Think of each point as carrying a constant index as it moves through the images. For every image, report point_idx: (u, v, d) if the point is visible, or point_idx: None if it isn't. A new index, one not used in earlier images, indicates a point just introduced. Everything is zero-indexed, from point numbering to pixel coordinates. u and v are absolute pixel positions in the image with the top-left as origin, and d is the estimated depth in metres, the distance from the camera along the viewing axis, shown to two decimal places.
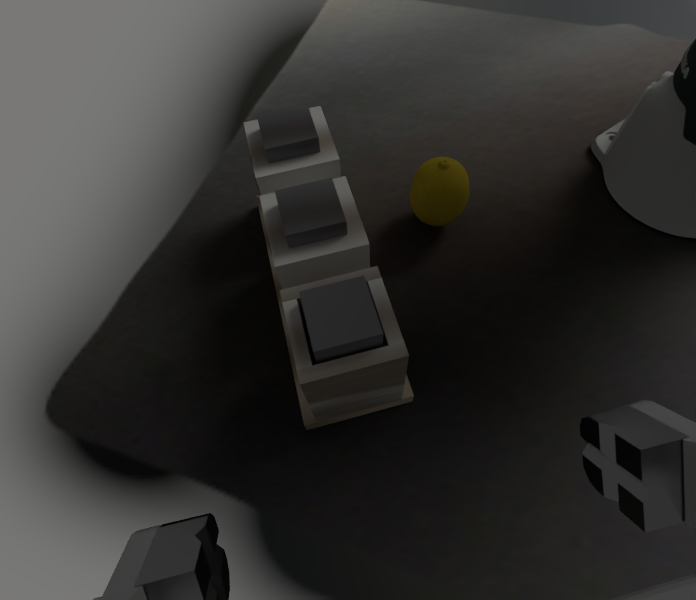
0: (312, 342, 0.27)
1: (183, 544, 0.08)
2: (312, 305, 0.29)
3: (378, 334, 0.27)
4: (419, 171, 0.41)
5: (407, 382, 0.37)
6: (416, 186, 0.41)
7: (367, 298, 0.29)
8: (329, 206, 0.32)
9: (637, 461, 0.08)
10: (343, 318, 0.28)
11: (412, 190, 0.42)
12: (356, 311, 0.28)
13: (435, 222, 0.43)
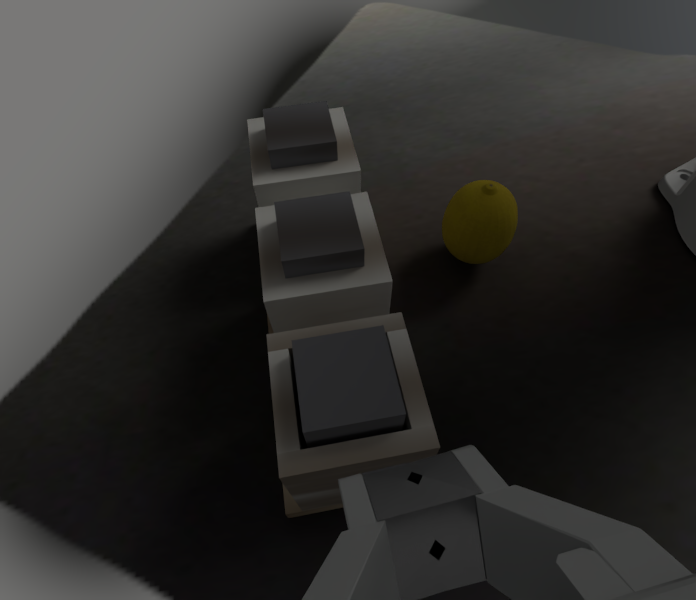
0: (302, 417, 0.19)
1: (400, 487, 0.08)
2: (308, 362, 0.20)
3: (399, 414, 0.19)
4: (457, 195, 0.33)
5: None
6: (453, 213, 0.33)
7: (386, 358, 0.20)
8: (343, 228, 0.24)
9: None
10: (350, 385, 0.20)
11: (446, 218, 0.34)
12: (369, 376, 0.20)
13: (472, 259, 0.35)
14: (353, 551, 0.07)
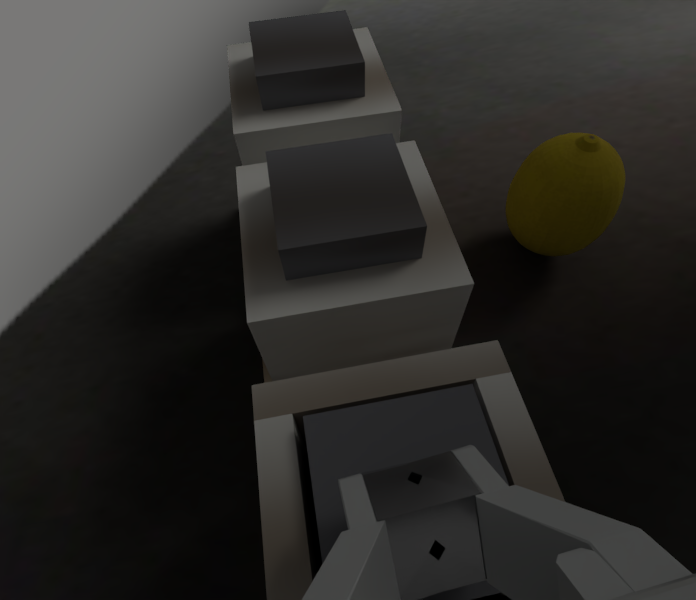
0: None
1: (400, 487, 0.08)
2: (336, 462, 0.11)
3: None
4: (534, 156, 0.23)
5: None
6: (529, 182, 0.23)
7: (486, 454, 0.11)
8: (386, 192, 0.14)
9: None
10: None
11: (517, 190, 0.24)
12: None
13: (553, 249, 0.24)
14: (353, 551, 0.07)
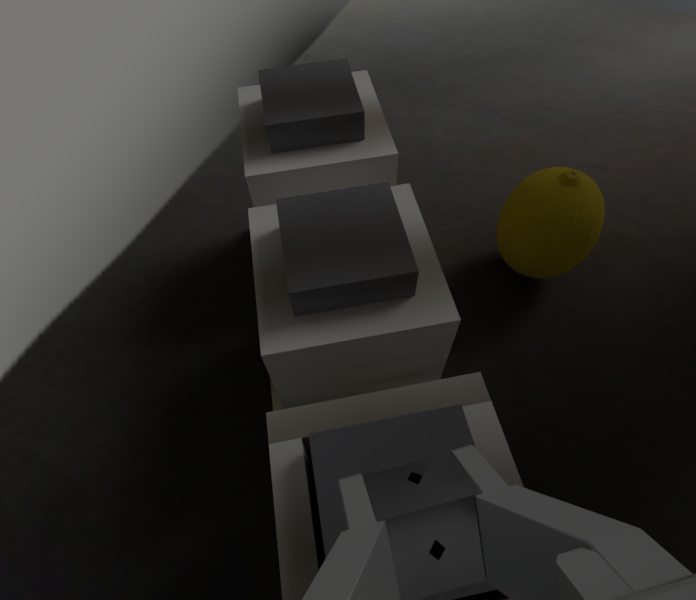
0: None
1: (400, 487, 0.08)
2: (338, 475, 0.12)
3: None
4: (521, 188, 0.25)
5: None
6: (517, 213, 0.25)
7: None
8: (383, 238, 0.16)
9: None
10: None
11: (506, 218, 0.26)
12: None
13: (539, 273, 0.26)
14: (353, 551, 0.07)
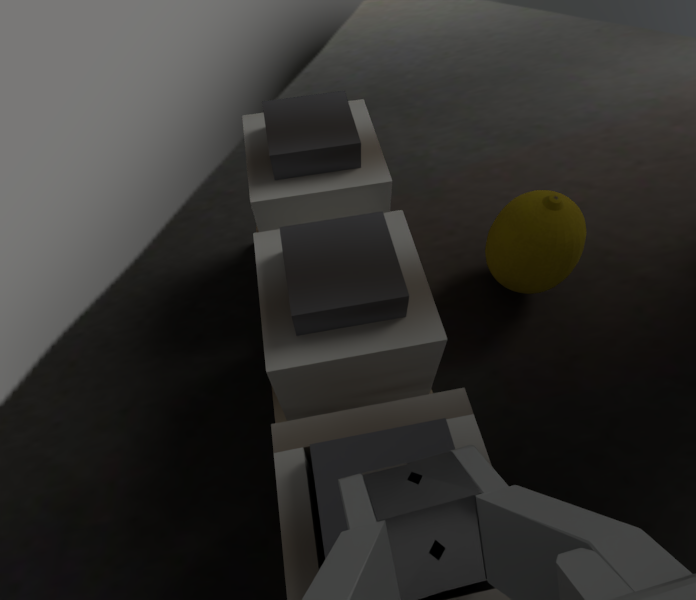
0: None
1: (400, 487, 0.08)
2: (336, 482, 0.13)
3: None
4: (508, 210, 0.26)
5: None
6: (504, 233, 0.26)
7: None
8: (377, 265, 0.17)
9: None
10: None
11: (494, 238, 0.27)
12: None
13: (525, 289, 0.28)
14: (353, 551, 0.07)
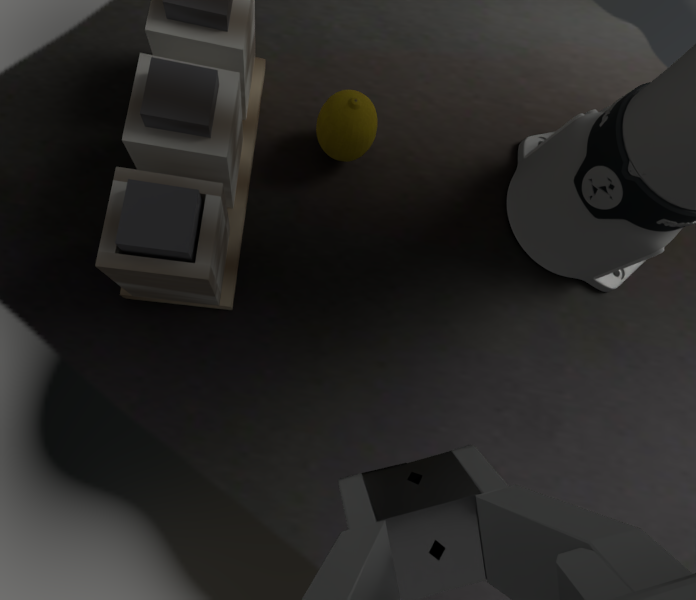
0: (118, 234, 0.28)
1: (400, 487, 0.08)
2: (135, 198, 0.29)
3: (183, 251, 0.29)
4: (331, 97, 0.39)
5: (231, 293, 0.39)
6: (323, 112, 0.39)
7: (190, 213, 0.29)
8: (199, 102, 0.31)
9: None
10: (158, 223, 0.29)
11: (319, 113, 0.40)
12: (173, 221, 0.29)
13: (330, 155, 0.42)
14: (353, 551, 0.07)
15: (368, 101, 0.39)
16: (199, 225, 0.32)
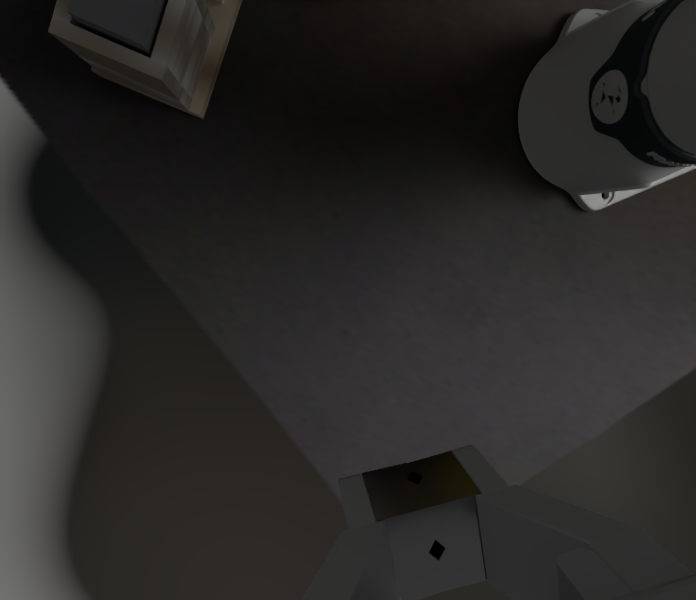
0: (71, 2, 0.27)
1: (400, 487, 0.08)
2: None
3: (136, 42, 0.28)
4: None
5: (203, 101, 0.38)
6: None
7: None
8: None
9: None
10: (114, 1, 0.27)
11: None
12: (131, 4, 0.27)
13: None
14: (353, 551, 0.07)
15: None
16: None
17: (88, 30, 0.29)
